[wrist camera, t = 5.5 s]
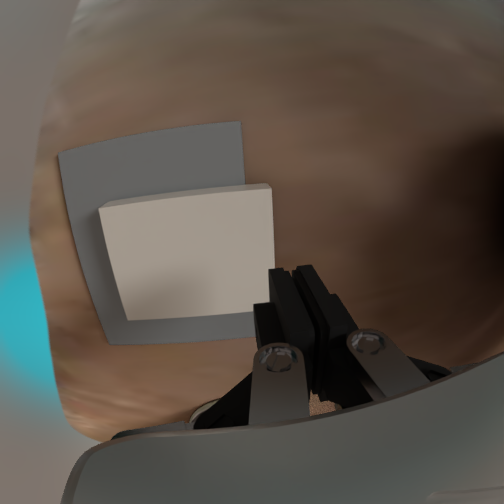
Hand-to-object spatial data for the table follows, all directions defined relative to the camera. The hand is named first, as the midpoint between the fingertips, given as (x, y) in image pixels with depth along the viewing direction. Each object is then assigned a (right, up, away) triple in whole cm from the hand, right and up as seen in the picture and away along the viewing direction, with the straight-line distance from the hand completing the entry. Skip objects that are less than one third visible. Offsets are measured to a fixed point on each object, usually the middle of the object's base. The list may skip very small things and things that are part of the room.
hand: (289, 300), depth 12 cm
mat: (-7, +2, +6) cm, 9 cm away
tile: (0, +2, +5) cm, 5 cm away
